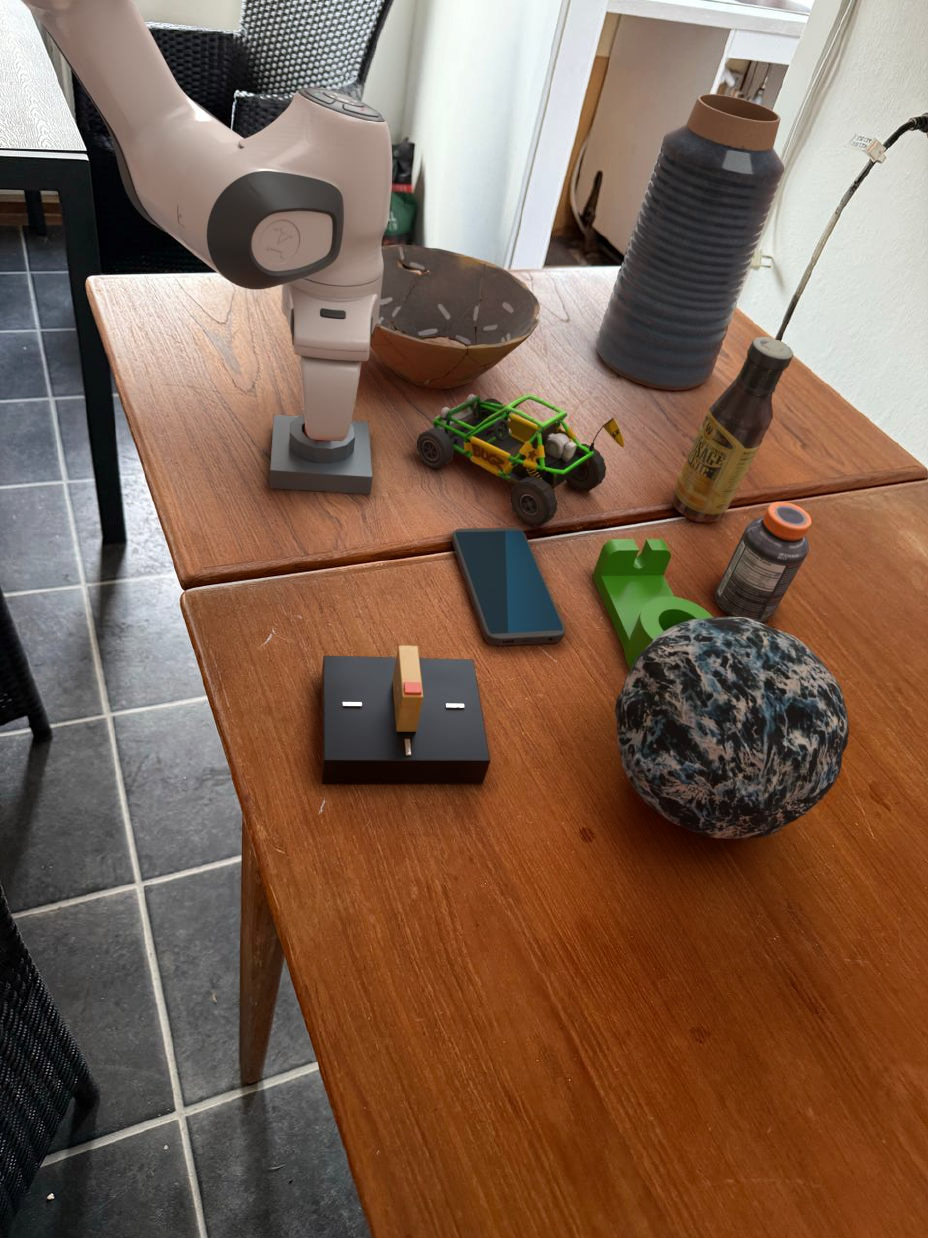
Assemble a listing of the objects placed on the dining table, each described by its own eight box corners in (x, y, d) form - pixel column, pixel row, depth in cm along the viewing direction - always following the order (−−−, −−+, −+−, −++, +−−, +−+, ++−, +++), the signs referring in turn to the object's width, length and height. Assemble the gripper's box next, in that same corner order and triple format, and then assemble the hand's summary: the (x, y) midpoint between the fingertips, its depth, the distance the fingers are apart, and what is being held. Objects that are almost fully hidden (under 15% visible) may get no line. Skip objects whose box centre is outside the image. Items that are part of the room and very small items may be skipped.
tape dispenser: (714, 690, 77) (734, 654, 74) (640, 693, 75) (657, 657, 72) (655, 574, 87) (671, 539, 84) (589, 575, 86) (602, 539, 82)
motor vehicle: (477, 421, 102) (494, 337, 95) (615, 501, 95) (644, 417, 88) (412, 456, 95) (425, 368, 88) (556, 546, 88) (583, 459, 81)
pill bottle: (752, 581, 89) (799, 491, 81) (783, 622, 85) (837, 532, 78) (702, 586, 87) (746, 495, 79) (732, 629, 83) (782, 537, 76)
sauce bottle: (659, 493, 98) (725, 326, 84) (706, 489, 100) (778, 326, 86) (686, 530, 94) (760, 361, 80) (735, 526, 96) (816, 361, 82)
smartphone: (485, 646, 76) (487, 639, 75) (448, 534, 86) (449, 527, 85) (566, 642, 78) (569, 635, 77) (521, 533, 88) (523, 526, 88)
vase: (586, 372, 115) (663, 105, 93) (601, 322, 127) (673, 74, 105) (707, 405, 114) (814, 144, 92) (711, 351, 126) (806, 108, 104)
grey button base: (269, 488, 87) (270, 454, 84) (273, 431, 94) (273, 399, 91) (370, 494, 89) (374, 462, 86) (366, 438, 96) (370, 407, 93)
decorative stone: (611, 871, 62) (682, 742, 52) (582, 697, 74) (635, 563, 64) (819, 882, 65) (928, 761, 54) (760, 712, 76) (839, 585, 66)
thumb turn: (392, 680, 68) (398, 642, 65) (411, 680, 68) (418, 643, 65) (396, 732, 64) (403, 694, 61) (416, 732, 65) (424, 695, 62)
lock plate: (321, 785, 64) (324, 759, 61) (321, 680, 71) (323, 653, 68) (483, 784, 66) (490, 759, 64) (467, 683, 73) (473, 657, 71)
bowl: (314, 313, 114) (318, 236, 107) (494, 322, 121) (509, 250, 114) (340, 421, 97) (346, 337, 91) (547, 424, 104) (568, 347, 97)
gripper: (297, 243, 86) (293, 371, 95) (293, 347, 71) (289, 485, 81) (362, 251, 87) (352, 376, 96) (371, 354, 73) (358, 489, 82)
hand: (323, 427), depth 89 cm, fingers closed, pressing on bell button
